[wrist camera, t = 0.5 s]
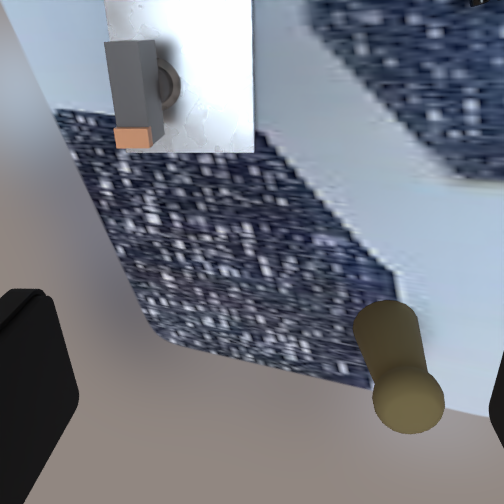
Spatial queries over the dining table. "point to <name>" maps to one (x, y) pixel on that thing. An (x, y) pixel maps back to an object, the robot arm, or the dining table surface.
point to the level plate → (197, 69)
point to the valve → (478, 2)
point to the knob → (137, 92)
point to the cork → (398, 367)
